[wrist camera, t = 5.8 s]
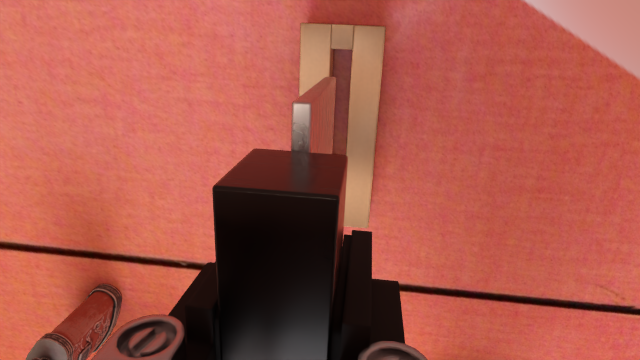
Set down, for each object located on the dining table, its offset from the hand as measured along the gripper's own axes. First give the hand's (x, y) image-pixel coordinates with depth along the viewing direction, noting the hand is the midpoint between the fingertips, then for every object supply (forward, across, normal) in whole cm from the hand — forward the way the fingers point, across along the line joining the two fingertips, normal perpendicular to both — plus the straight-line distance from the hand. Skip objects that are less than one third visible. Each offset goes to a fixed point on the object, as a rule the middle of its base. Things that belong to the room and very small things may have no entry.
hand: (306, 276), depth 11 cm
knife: (+4, 0, 0) cm, 4 cm away
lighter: (+21, +23, +20) cm, 37 cm away
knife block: (+21, +1, 0) cm, 21 cm away
